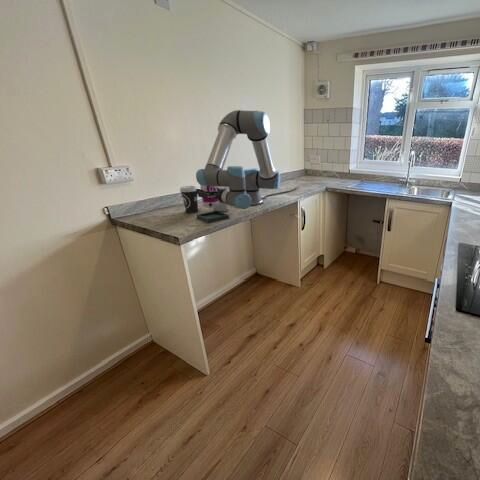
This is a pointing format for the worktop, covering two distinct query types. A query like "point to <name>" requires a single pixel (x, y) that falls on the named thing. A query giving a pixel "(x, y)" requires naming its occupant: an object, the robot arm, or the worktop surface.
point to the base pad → (212, 216)
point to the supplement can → (213, 201)
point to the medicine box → (221, 207)
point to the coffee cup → (190, 198)
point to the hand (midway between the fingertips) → (205, 190)
